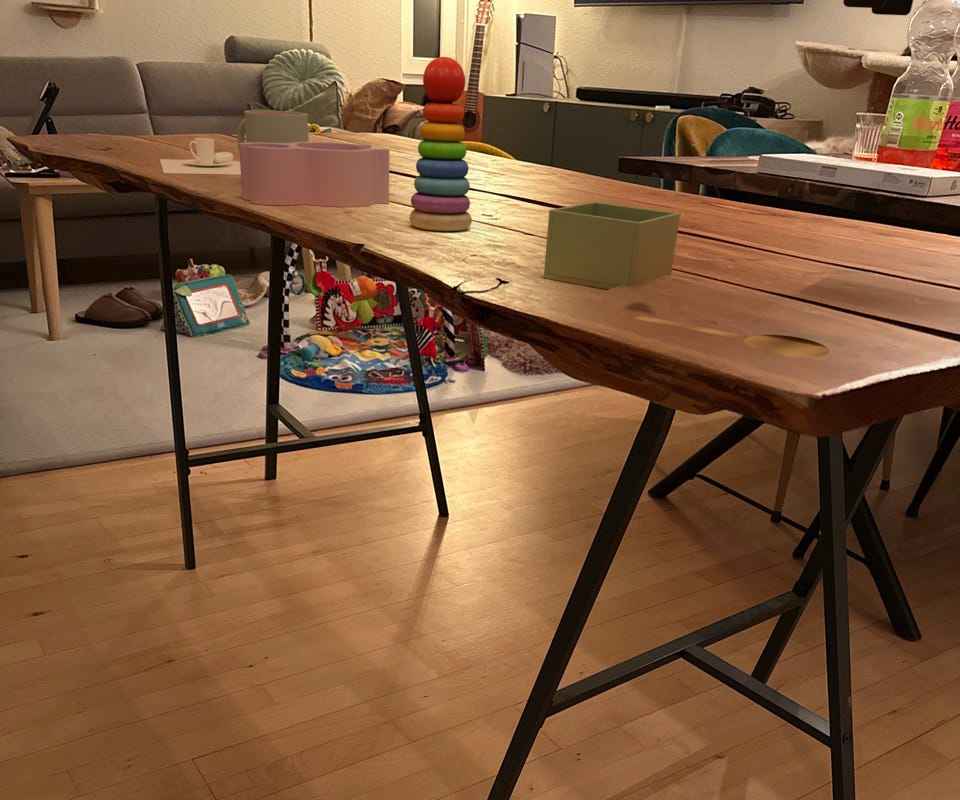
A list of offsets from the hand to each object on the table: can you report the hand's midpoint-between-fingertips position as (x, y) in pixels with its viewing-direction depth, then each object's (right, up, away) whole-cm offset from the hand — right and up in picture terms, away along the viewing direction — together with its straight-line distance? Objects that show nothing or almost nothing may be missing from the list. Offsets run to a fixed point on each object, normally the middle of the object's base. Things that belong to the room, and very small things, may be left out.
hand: (877, 11), depth 80 cm
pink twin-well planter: (-57, +10, +58) cm, 82 cm away
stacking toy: (-38, 0, +43) cm, 58 cm away
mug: (-66, +18, +69) cm, 97 cm away
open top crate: (-20, -14, +21) cm, 32 cm away
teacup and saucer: (-77, +29, +85) cm, 119 cm away
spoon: (-12, -28, 0) cm, 30 cm away
